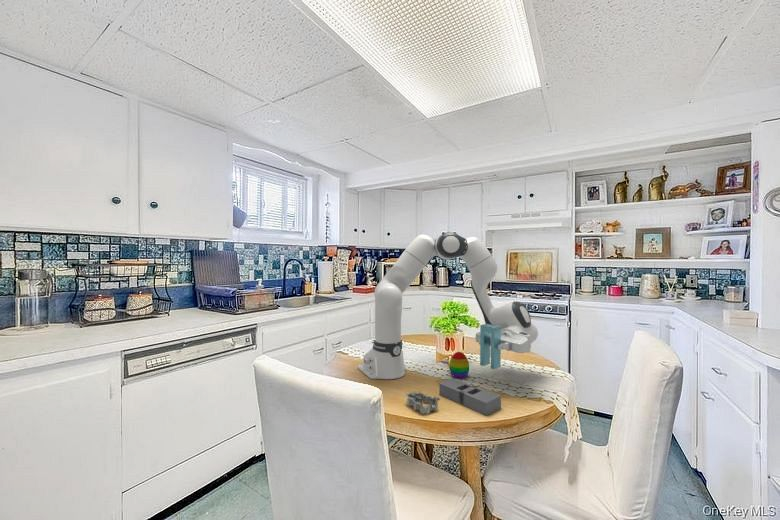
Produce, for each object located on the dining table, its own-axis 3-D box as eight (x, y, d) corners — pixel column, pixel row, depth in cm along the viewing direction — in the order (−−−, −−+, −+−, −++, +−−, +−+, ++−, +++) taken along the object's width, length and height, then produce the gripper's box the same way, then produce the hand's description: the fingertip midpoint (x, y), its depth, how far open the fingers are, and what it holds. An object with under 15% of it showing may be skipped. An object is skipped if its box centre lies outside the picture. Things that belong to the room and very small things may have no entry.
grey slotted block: (439, 394, 119) (439, 383, 119) (454, 388, 124) (454, 378, 124) (486, 415, 103) (486, 403, 103) (501, 407, 108) (500, 395, 108)
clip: (480, 365, 122) (480, 325, 122) (486, 362, 125) (486, 323, 125) (494, 369, 118) (494, 328, 117) (500, 367, 120) (500, 326, 120)
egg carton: (441, 410, 107) (441, 398, 107) (423, 417, 103) (423, 404, 103) (421, 398, 116) (421, 386, 116) (403, 403, 112) (403, 391, 112)
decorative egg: (469, 380, 131) (469, 355, 131) (448, 378, 133) (448, 354, 133) (469, 373, 139) (469, 349, 139) (449, 371, 141) (449, 348, 141)
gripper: (487, 326, 137) (466, 331, 129) (534, 336, 121) (514, 342, 113) (487, 341, 137) (466, 347, 129) (534, 352, 121) (513, 360, 113)
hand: (488, 344), depth 121 cm, fingers closed on clip, 6 cm apart
